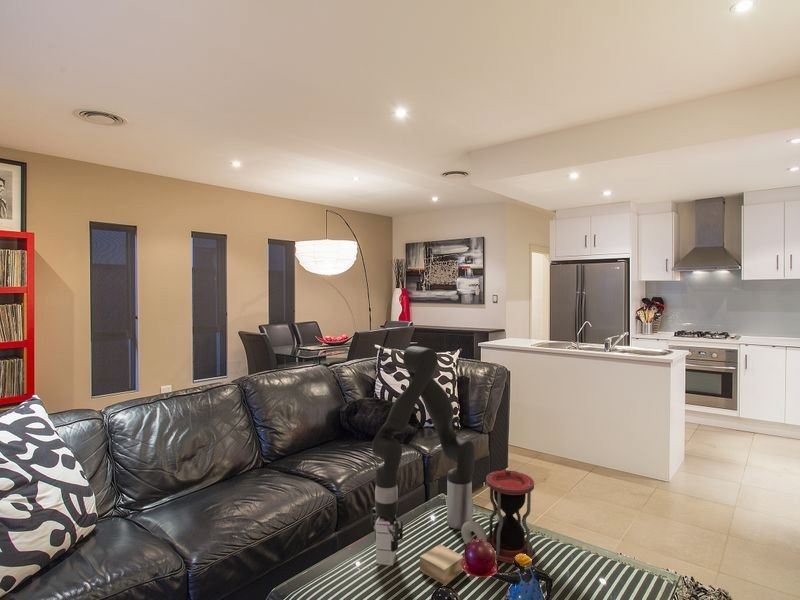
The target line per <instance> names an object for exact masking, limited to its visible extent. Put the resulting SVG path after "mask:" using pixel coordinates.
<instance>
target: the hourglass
mask: <svg viewBox="0 0 800 600" xmlns="http://www.w3.org/2000/svg"><path fill="white" fill-rule="evenodd" d="M485 484H486V485H487V486H488V488H489V499H490V503H491V505H492V509H493V511H492V513H491V514H490V516H489V519H488V520H489V523H488V524H489V527H488V528H489V531H488V532H489V533H488V534H489V535H488V536H487V542H489V543H490V544H491V545H492V547H493V548H494V550H495V551H496V555H497V560H496V561H500V562H502V563H506V564H514V563H513V560H514V557H515V556H516V555H517V554H519V553H524V554H526V555H528V556H529V557H531V558H532V556H533V555H534V554H533V551H534V550H533V545H532V544H531V541H530V540H531V531H530V529H529V527H528V525H527V517H528V516H529V515H530V513H531V506H532V505H531V503H532V502H531V500H532V499H531V497H532V492H533V490H534V489H535V481H534V479H533V478H532V477H531V476H529V475H528V474H525V473H523V472H519V471H516V470H515V471H514V470H496V471H492V472H490V473H488V474H487V475H486V480H485ZM526 494H527V497H526ZM526 499H527V500H526ZM525 503H526V511H525V513H524V514H523V515H522V517H521V514H520V511H521V509H522V508H523V506H524V505H525ZM501 511H502V512H503V513H504V514H505V515H504V516H503V515H502V512H501ZM514 514H515V515H516V517H517V518H516V517H515V516H514ZM496 515H497V516H498V521H497V522H496V523H495V524H494V526H493V522H494V517H495V516H496ZM524 529H525V530H524ZM525 533H526V535H525ZM525 537H526V538H525Z"/></svg>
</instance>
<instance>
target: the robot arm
mask: <svg viewBox="0 0 800 600" xmlns="http://www.w3.org/2000/svg"><path fill="white" fill-rule="evenodd" d="M438 359H439V357H438V355H437V352H436V351H435V350H434V349H432V348H428V347H425V346H417V345H415V346H414V345H412V346H409V347H407V348H406V349H404V352H403V355H402V362H403V365H404V368H405V370H406V371H407V373H408V376H409V377H410V378H411V382H410V383H409V384H408V386H407V387H405V388H404V389H405V390H403V392H402V393H401V394H399V396H397V398H396V399H395V401H394V403H393V404H392V406H391V408H390V411H389V413H388V416H387V417H386V421H385V422H384V424H383V425H382V426H381V427H380V429H379V431H377V433H376V435H375V437H374V439H373V440H372V444H371V450H372V453H373V455H375V456H376V457H378V458H380V459H382V460H384V461H383V462H384V463H383V464H380V465H378V466H377V468H376V469H375V489H374V490H375V492H374V507H372V508H371V509H370V526H371V527H373V529H374V539H375V541H376V521H377V519H378V518H379V519H381V518H383V519H385V520H383V521H388V522H390V525H393V526H394V530H393V531H391V530H390V528H389V527H388V526H387V533H388V534H389V535H390V537H391V551H392V552H394V551H396V552H397V551H398V550H399V541H401V540H403V538H404V532H403V531H404V528H403V527H404V524H403V520H399V521H398V520H397V515H396V514H397V513H398V510H399V509H398V507H399V505H398V504H399V498H398V497H399V491H398V489H399V487H398V471H399V467H400V463H401V461H402V460H401V459H402V455H403V448H402V445H401V444H400V442H399V441H398V440H396V439H393V438H394V437H395V436H396V435H397V434H403V433H405V431H406V429H407V426H408V424H409V421H410V418H411V416H412V413H413V412H414V408H415V407H416V404H417V402H418V401H419V399H420V397H421V400H422V402H423V404H424V407H425V410H426V412H427V414H428V416H429V418H430V420H431V421H432V422H431V423H432V425H433V427H434V429H435V431H436V432H435V433H436V435H437V437H438V440H439V443H440V446H441V450H442V453H443V454H444V456H445V457H446V458H447V459H448V460H451V461H452V462H455V463H457V464H456V467H455V468H451V469H449V470H448V471H447V479H446V480H447V483H446V484H447V485H446V486H447V489H446V490H447V491H446V492H447V493H446V495H447V496H446V498H447V499H446V525H447V526H448V527H449V528H452V529H453V530H461V531H462V526H463V525H464V523H465V522H467V521H471V520H472V521H474V519H473V518H474V498H473V497H472V490H473V489H472V488H473V487H472V484H473V483H472V481H473V475H474V471H475V459H476V458H475V456H476V449H475V445H474V443H473V441H472V440H469V439H468V438H463V437H461V436H459V435H457V433H456V432H455V430H454V427H453V425H452V423H453V419H454V415H455V413H454V412H455V411H454V407H453V404H452V402H451V399H450V397H449V395H448V393H447V392H446V390H444V388H443V387H442V386H441V385H440V384H439V383H438V382H437V381H436V380H435V379H434V378H433V374H434V372H435V370H436V369H437V365H438V363H439V361H438ZM395 515H396V516H395ZM385 523H386V522H385ZM386 525H387V524H386ZM393 532H394V534H395V536H393Z"/></svg>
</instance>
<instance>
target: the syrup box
mask: <svg viewBox="0 0 800 600" xmlns="http://www.w3.org/2000/svg"><path fill="white" fill-rule="evenodd" d="M395 516H396V517H397V515H395ZM383 520H385V519H383V518H381V519H379V518H378V519H377V521H376V540H375V562H376V564H378V565H383V566H393V565H394V563H395V560H396V559H397V550H396V551H394V552H392V551H391V537H390V535H389V534H388V533H387V526H388V527H389V528H390V530H391V531H393V530H394V526H393V525H390V522H388V521H383ZM385 522H386V523H385ZM386 524H387V525H386ZM393 536H395V534H394V532H393Z"/></svg>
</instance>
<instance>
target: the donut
mask: <svg viewBox="0 0 800 600" xmlns="http://www.w3.org/2000/svg"><path fill="white" fill-rule="evenodd" d="M472 532H473V533H474V534H475V536H476V538H478V539H484V540H485V541H487V538H488V535H487V532H486V530H485V529H484V526H482V525H481V523H479V522H477V521H475V520H473V521H472V520H471V521H467V522H465V523H464V525H463V526H462V530H461V532H460V533H461V537H462V540H463V543H465V545H466V544H467V543H468V542H470V541H471V540H472V539H475V538H474V537H473V535H472Z"/></svg>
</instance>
